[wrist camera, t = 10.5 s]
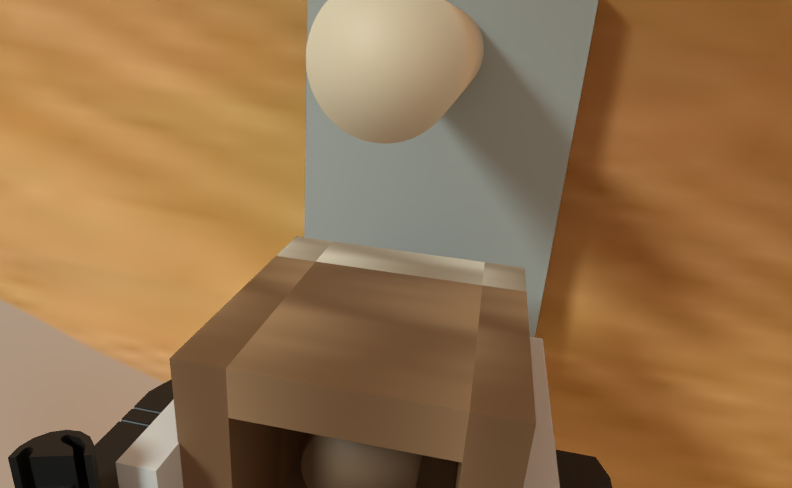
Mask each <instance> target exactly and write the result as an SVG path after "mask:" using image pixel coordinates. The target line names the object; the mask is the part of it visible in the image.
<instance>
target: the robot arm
mask: <svg viewBox="0 0 792 488" xmlns="http://www.w3.org/2000/svg"><path fill="white" fill-rule="evenodd" d="M530 347H531V360H532V374H533V388H534V401H535V415H536V427H535V432H534V437H533V442H532V446H531V451H530V456H529V461H528V466H527V471H526V476H525V481H524V486H523V488H612V485H611V480H610V477H609V475H608V474H607V473H606V471H605V470H604V468H603V467H602V466H601V464H600V463H599V461H598V460H597V459H596V457H592V456H586V455H581V454H576V453H570V452H565V451H560V450H556V449H555V440H554V432H553V423H552V414H551V405H550V396H549V388H548V379H547V370H546V361H545V352H544V344H543V339H542V338H536V337H530ZM8 459H9V464H10V468H11V472H12V476H13V481H14V485H15V488H183V479H182V468H181V458H180V447H179V443H178V439H177V429H176V418H175V408H174V398H173V388H172V380H169V381H168V382H166V383H164V384H162V385H160V386H158V387H156V388H155V389H153V390H151V391H149V392H148V393H147V394H146V395H145V397H143V398H142V399H141V400H140V401H139V402H138V403H137V404H136V405H135V407H134V409H131V410H130V411H129V412H128V413H127V414H126V415H125V416H124V417H123V418H122V421H121V422H118V423H117V424H116V425H115V426H114V427H113V428H112V429H111V430H110V431H109V432H108V433H107V434H106V435H105V436H104V437H103V438H102V439H101V440H100V441H99V442H98V443H97V444H96V445H95V446H94V444H93V442H92V440H91V438H90V436H88V435H86V434H84V433H82V432H80V431H72V430H63V431H56V432H50V433H47V434H44V435H41V436H38V437H35V438H33V439H31V440H30V441H28V442H26V443H24V444H23V445H21V446H19V447H18V448H17V449H16V450H15V451H14V452H13V453H12V454H11V455H10V456H9V457H8Z"/></svg>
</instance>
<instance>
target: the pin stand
mask: <svg viewBox="0 0 792 488" xmlns="http://www.w3.org/2000/svg"><path fill="white" fill-rule="evenodd" d="M597 6H598V0H307V48H306V69H307V75H306V157H305V238H312V239H319V240H327V241H334V242H341V243H349V244H356V245H363V246H371V247H378V248H385V249H392V250H400V251H407V252H414V253H422V254H429V255H436V256H444V257H451V258H458V259H466V260H473V261H480V262H488V263H495V264H502V265H509V266H517V267H524V268H525V278H526V292H527V306H528V319H529V333H530V337H535V334H536V329H537V323H538V318H539V313H540V307H541V302H542V297H543V292H544V286H545V281H546V276H547V270H548V265H549V260H550V255H551V249H552V244H553V239H554V233H555V228H556V223H557V217H558V212H559V207H560V202H561V196H562V191H563V186H564V180H565V175H566V170H567V165H568V159H569V154H570V149H571V143H572V138H573V133H574V127H575V122H576V117H577V112H578V106H579V101H580V96H581V90H582V85H583V80H584V75H585V69H586V64H587V59H588V53H589V48H590V43H591V37H592V32H593V27H594V22H595V16H596V11H597ZM421 459H422V455H419V454H414V453H409V452H404V451H398V450H393V449H388V448H383V447H378V446H372V445H367V444H362V443H357V442H352V441H346V440H341V439H336V438H331V437H325V436H320V435H315V434H312V436H311V438H310V440H309V442H308V444H307V446H306V448H305V450H304V453H303V456H302V460H301V471H302V476H303V479H304V481H305V484H306V486H307V488H416V484H417V479H418V474H419V469H420V464H421Z"/></svg>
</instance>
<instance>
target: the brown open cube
mask: <svg viewBox="0 0 792 488" xmlns="http://www.w3.org/2000/svg"><path fill="white" fill-rule="evenodd" d="M170 367H171V377H172V388H173V398H174V408H175V418H176V429H177V439H178V443H179V447H180V458H181V468H182V479H183V488H307V486H306V484H305V481H304V479H303V476H302V471H301V460H302V456H303V453H304V450H305V448H306V446H307V444H308V442H309V440H310V438H311V436H312V434H315V435H320V436H325V437H331V438H336V439H341V440H346V441H352V442H357V443H362V444H367V445H372V446H378V447H383V448H388V449H393V450H398V451H404V452H409V453H414V454H419V455H422V459H421V464H420V469H419V474H418V479H417V484H416V488H523V486H524V481H525V476H526V471H527V466H528V461H529V456H530V451H531V446H532V442H533V437H534V432H535V427H536V415H535V401H534V388H533V374H532V360H531V347H530V333H529V319H528V306H527V292H526V278H525V268H524V267H517V266H509V265H502V264H495V263H488V262H480V261H473V260H466V259H458V258H451V257H444V256H436V255H429V254H422V253H414V252H407V251H400V250H392V249H385V248H378V247H371V246H363V245H356V244H349V243H341V242H334V241H327V240H319V239H312V238H305V237H297V236H296V237H295V238H294V239H293V240H292V241H291V242H290V243H289V244H288V245H287V246H286V247H285V248H284V249H283V250H282V251H281V252H280V253H279V254H278V255H277V256H276V257H275V258H274V259H272V260H271V261H270V262H269V263H268V264H267V265H266V266H265V267H264V268H263V269H262V270H261V271H260V272H259V273H258V274H257V275H256V276H255V277H254V278H253V279H252V280H251V281H250V282H249V283H248V284H247V285H245V286H244V287H243V288H242V289H241V290H240V291H239V292H238V293H237V294H236V295H235V296H234V297H233V298H232V299H231V300H230V301H229V302H228V303H227V304H226V305H225V306H224V307H223V308H222V309H221V310H220V311H218V312H217V313H216V314H215V315H214V316H213V317H212V318H211V319H210V320H209V321H208V322H207V323H206V324H205V325H204V326H203V327H202V328H201V329H200V330H199V331H198V332H197V333H196V334H195V335H194V336H193V337H191V338H190V339H189V340H188V341H187V342H186V343H185V344H184V345H183V346H182V347H181V348H180V349H179V350H178V351H177V352H176V353H175V354H174V355H173V356H172V357H171V358H170Z"/></svg>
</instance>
